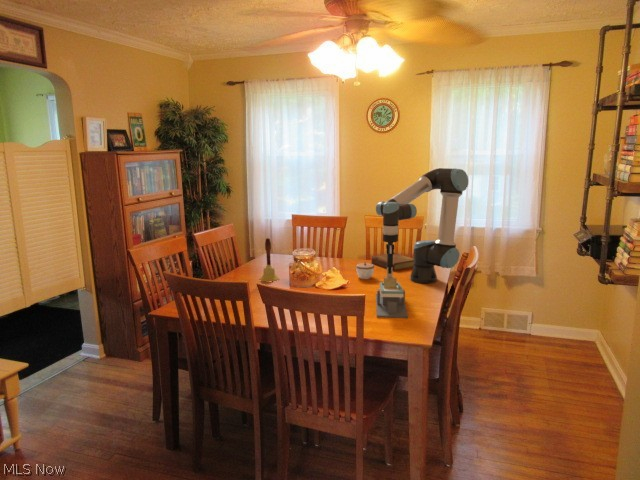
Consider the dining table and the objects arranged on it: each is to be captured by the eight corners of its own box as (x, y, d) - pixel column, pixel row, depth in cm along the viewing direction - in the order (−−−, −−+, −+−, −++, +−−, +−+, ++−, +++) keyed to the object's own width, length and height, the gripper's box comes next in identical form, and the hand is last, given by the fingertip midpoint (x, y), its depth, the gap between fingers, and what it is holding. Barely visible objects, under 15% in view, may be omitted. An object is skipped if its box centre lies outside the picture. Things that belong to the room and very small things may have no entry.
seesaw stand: (402, 295, 239) (403, 281, 238) (407, 318, 208) (408, 301, 207) (375, 295, 241) (376, 280, 239) (376, 317, 210) (377, 300, 208)
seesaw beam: (399, 289, 237) (399, 282, 236) (403, 298, 209) (403, 291, 209) (379, 288, 238) (379, 282, 238) (381, 298, 210) (381, 291, 210)
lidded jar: (373, 280, 268) (373, 265, 266) (355, 279, 270) (355, 264, 268) (374, 275, 278) (374, 260, 276) (357, 275, 280) (357, 260, 278)
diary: (371, 264, 306) (371, 256, 305) (393, 260, 315) (393, 252, 314) (393, 272, 287) (393, 263, 286) (416, 267, 296) (416, 259, 295)
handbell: (255, 281, 271) (253, 239, 266) (266, 275, 282) (264, 235, 277) (272, 283, 266) (271, 241, 261) (283, 277, 277) (282, 237, 272)
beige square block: (395, 286, 231) (396, 277, 230) (396, 288, 225) (396, 278, 224) (383, 286, 231) (383, 276, 231) (384, 288, 225) (384, 278, 225)
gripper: (382, 230, 233) (381, 275, 238) (383, 236, 220) (382, 282, 226) (397, 230, 232) (396, 275, 237) (398, 236, 220) (397, 283, 225)
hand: (389, 279), depth 231 cm, fingers closed
